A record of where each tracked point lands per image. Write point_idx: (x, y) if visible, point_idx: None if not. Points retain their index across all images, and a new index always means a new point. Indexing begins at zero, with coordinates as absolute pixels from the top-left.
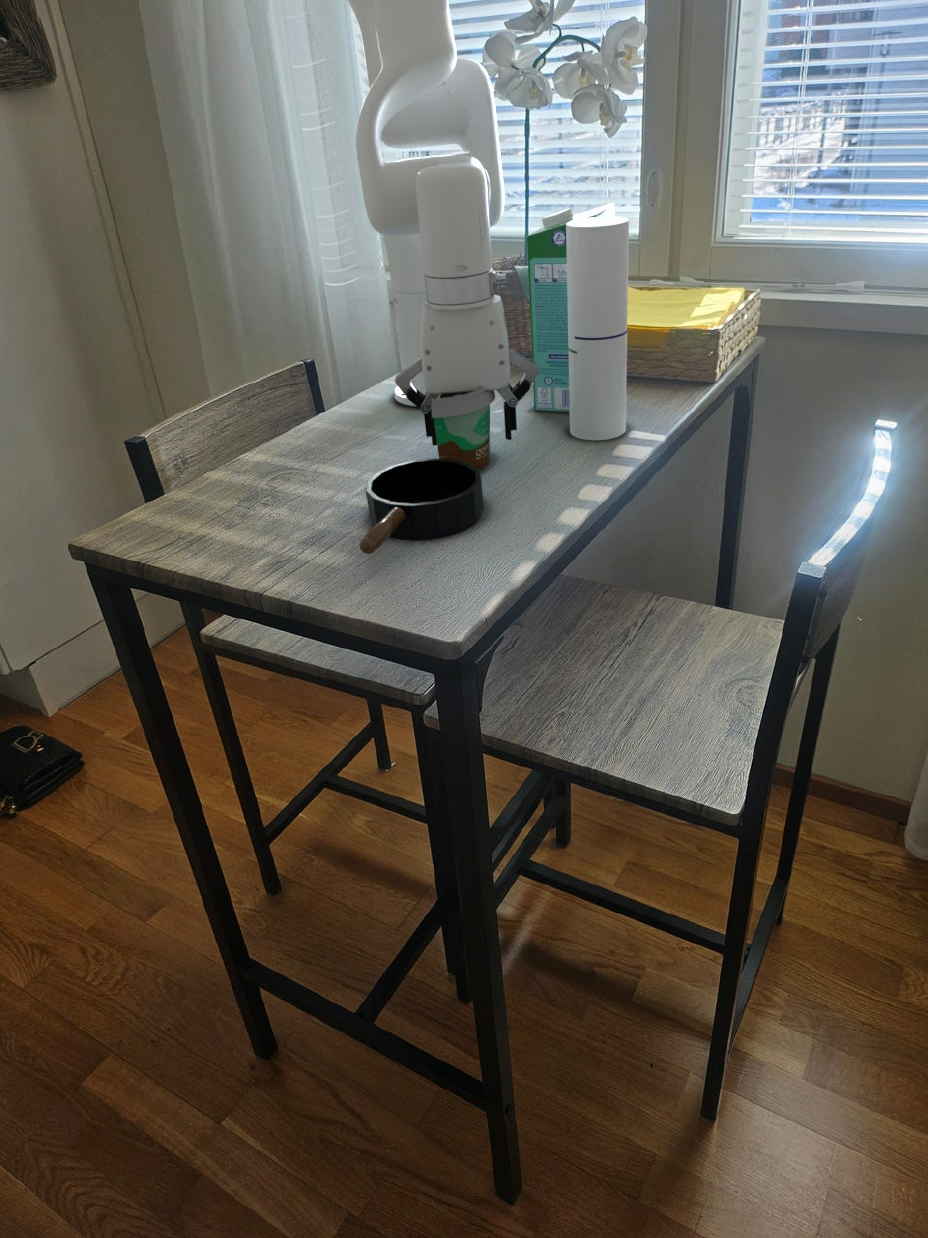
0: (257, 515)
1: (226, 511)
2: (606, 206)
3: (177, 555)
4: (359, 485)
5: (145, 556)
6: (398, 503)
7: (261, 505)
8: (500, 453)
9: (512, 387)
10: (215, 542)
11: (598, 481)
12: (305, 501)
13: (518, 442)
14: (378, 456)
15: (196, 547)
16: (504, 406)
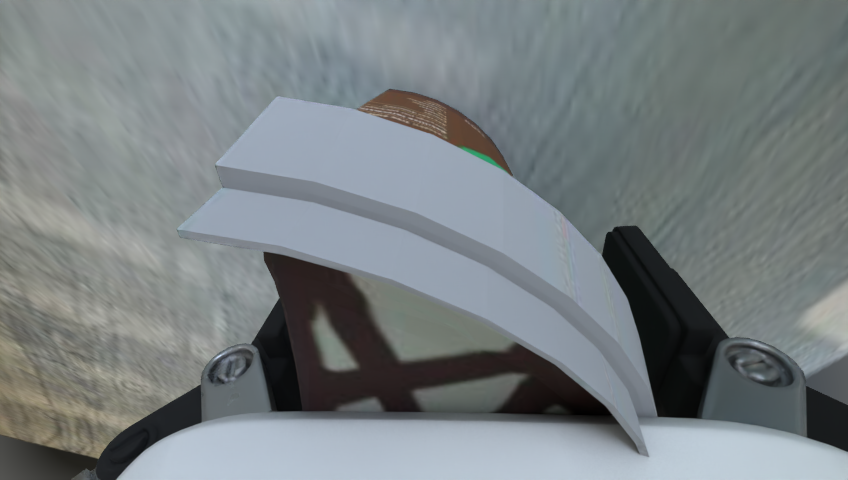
0: (103, 384)
1: (34, 368)
2: None
3: (99, 446)
4: (206, 309)
5: (61, 444)
6: None
7: (74, 358)
8: (556, 151)
9: (800, 421)
10: (117, 431)
11: (780, 349)
12: (145, 354)
13: (652, 32)
14: (129, 137)
15: (104, 437)
16: (654, 385)
